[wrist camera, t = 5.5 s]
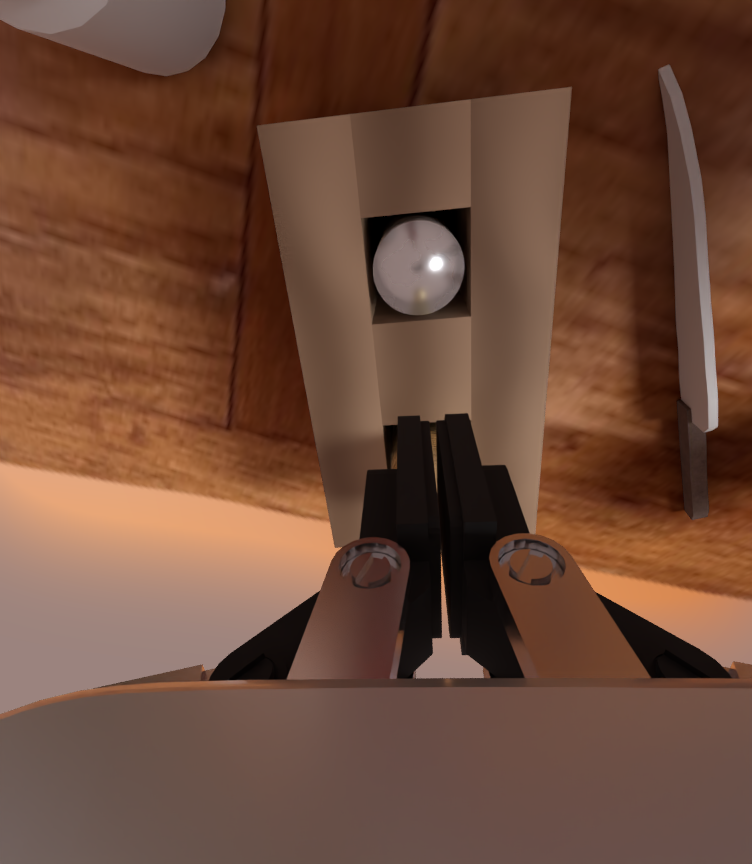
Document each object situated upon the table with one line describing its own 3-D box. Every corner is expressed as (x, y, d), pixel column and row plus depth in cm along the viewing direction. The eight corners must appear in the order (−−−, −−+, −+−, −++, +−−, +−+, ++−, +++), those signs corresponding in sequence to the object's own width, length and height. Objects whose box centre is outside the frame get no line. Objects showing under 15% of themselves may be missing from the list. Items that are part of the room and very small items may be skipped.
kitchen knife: (723, 536, 35) (720, 41, 21) (707, 539, 35) (693, 53, 21) (693, 499, 38) (673, 57, 24) (678, 502, 39) (650, 66, 25)
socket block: (520, 109, 26) (571, 86, 18) (506, 457, 36) (534, 539, 28) (299, 136, 27) (256, 125, 19) (349, 466, 37) (334, 547, 29)
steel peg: (447, 201, 27) (464, 215, 20) (449, 273, 29) (464, 311, 22) (377, 208, 28) (368, 225, 20) (383, 279, 30) (377, 318, 22)
